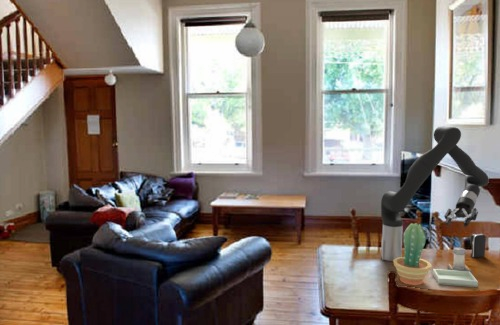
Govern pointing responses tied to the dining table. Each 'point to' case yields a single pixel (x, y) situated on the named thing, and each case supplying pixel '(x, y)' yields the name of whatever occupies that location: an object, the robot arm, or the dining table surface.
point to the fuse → (459, 258)
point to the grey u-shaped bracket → (459, 269)
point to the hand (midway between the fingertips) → (456, 225)
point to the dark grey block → (478, 245)
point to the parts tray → (455, 278)
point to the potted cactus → (413, 256)
